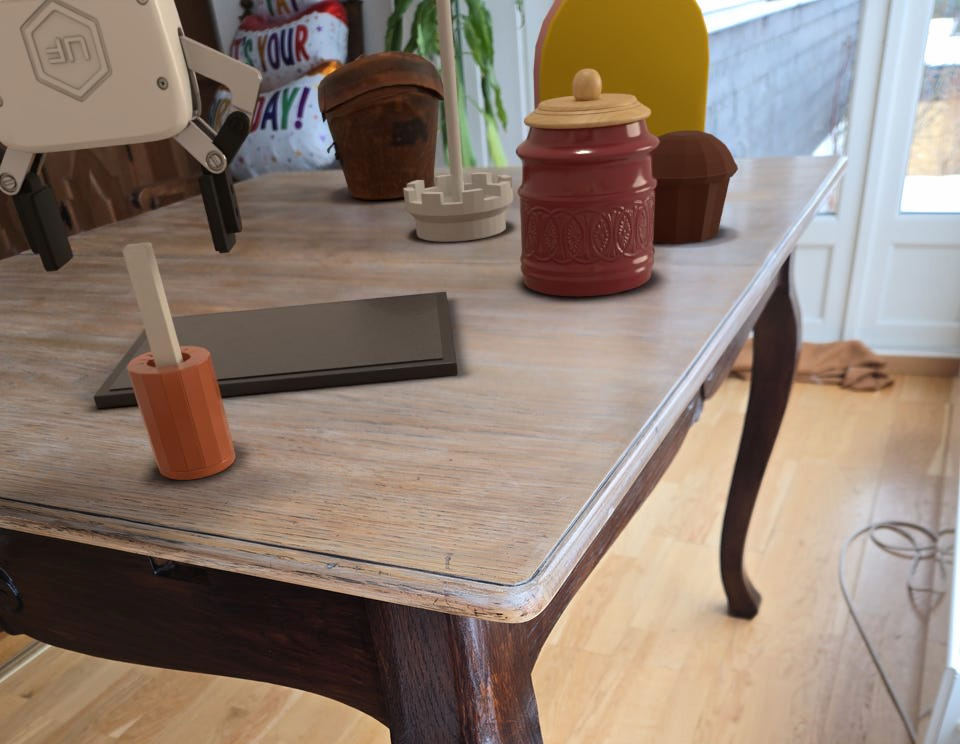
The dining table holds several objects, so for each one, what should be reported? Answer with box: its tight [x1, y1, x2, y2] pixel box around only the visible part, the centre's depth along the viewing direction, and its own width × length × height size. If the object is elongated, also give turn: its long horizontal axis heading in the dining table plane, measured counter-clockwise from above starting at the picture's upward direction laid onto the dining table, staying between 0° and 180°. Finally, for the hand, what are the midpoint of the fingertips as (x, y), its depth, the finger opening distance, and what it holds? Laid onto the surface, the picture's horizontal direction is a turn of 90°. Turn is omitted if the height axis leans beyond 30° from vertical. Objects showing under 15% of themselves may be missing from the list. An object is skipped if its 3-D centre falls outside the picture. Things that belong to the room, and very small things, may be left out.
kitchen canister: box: [515, 69, 659, 297], centre depth 83 cm, size 13×13×18 cm
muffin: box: [653, 130, 739, 245], centre depth 97 cm, size 12×11×10 cm
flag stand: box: [403, 0, 514, 242], centre depth 101 cm, size 13×13×30 cm
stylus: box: [121, 241, 184, 367], centre depth 55 cm, size 1×1×13 cm
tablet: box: [93, 291, 458, 410], centre depth 77 cm, size 28×20×1 cm
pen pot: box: [127, 346, 236, 481], centre depth 57 cm, size 5×5×7 cm
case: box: [317, 50, 444, 201], centre depth 128 cm, size 18×20×18 cm
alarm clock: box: [532, 0, 710, 137], centre depth 113 cm, size 21×9×26 cm, turn 93°
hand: (143, 256), depth 51 cm, fingers open, 9 cm apart
